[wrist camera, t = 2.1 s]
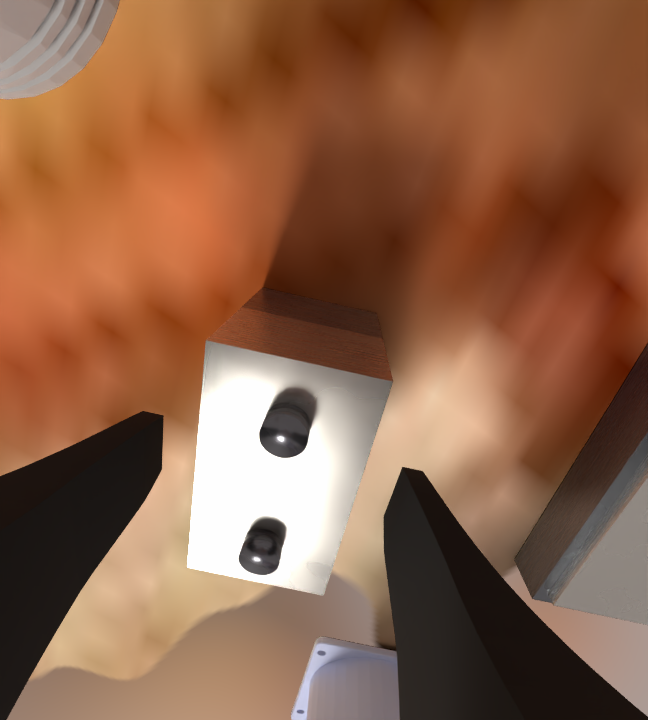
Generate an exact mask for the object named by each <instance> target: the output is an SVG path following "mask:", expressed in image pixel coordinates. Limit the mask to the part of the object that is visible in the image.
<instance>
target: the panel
mask: <svg viewBox="0 0 648 720" xmlns="http://www.w3.org/2000/svg"><path fill="white" fill-rule="evenodd" d="M515 562H516V565H517V567H518V569H519V571H520V573H521V575H522V577H523V580H524V582H525V584H526V586H527V588H528V591H529V593H530V595H531V597H532V599H535V600H541V601H545V602H550V603H552V604H553V605H554V606H559V607H564V608H569V609H573V610H578V611H583V612H588V613H592V614H597V615H602V616H607V617H612V618H616V619H621V620H626V621H630V622H635V623H640V624H645V625H648V345H647V346H646V348H645V349H644V351H643V353H642V354H641V356H640V357H639V359H638V361H637V362H636V364H635V366H634V367H633V369H632V370H631V372H630V374H629V375H628V377H627V378H626V380H625V382H624V383H623V385H622V387H621V388H620V390H619V391H618V393H617V395H616V396H615V398H614V399H613V401H612V403H611V404H610V406H609V408H608V409H607V411H606V412H605V414H604V416H603V417H602V419H601V421H600V422H599V424H598V425H597V427H596V429H595V430H594V432H593V433H592V435H591V437H590V438H589V440H588V442H587V443H586V445H585V446H584V448H583V450H582V451H581V453H580V454H579V456H578V458H577V459H576V461H575V463H574V464H573V466H572V467H571V469H570V471H569V472H568V474H567V475H566V477H565V479H564V480H563V482H562V484H561V485H560V487H559V488H558V490H557V492H556V493H555V495H554V497H553V498H552V500H551V501H550V503H549V505H548V506H547V508H546V509H545V511H544V513H543V514H542V516H541V518H540V519H539V521H538V522H537V524H536V526H535V527H534V529H533V530H532V532H531V534H530V535H529V537H528V539H527V540H526V542H525V543H524V545H523V547H522V548H521V550H520V551H519V553H518V555H517V556H516V558H515Z"/></svg>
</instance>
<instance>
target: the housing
mask: <svg viewBox="0 0 648 720" xmlns="http://www.w3.org/2000/svg"><path fill="white" fill-rule="evenodd" d="M392 383H393V380H392V375H391V371H390V367H389V363H388V359H387V355H386V350H385V346H384V342H383V338H382V334H381V330H380V326H379V321H378V317H377V313H374V312H369V311H365V310H361V309H356V308H352V307H347V306H343V305H338V304H334V303H329V302H325V301H321V300H316V299H312V298H307V297H303V296H298V295H294V294H289V293H285V292H281V291H276V290H272V289H267V288H262V289H260V290H259V291H258V292H257V293H256V294H255V295H254V296H253V297H252V298H251V299H250V300H249V301H248V302H247V303H245V304H244V305H243V306H242V307H241V308H240V309H239V310H238V311H237V312H236V313H235V314H234V315H233V316H231V317H230V318H229V319H228V320H227V321H226V322H225V323H224V324H223V325H222V326H221V327H220V328H219V329H218V330H216V331H215V332H214V333H213V334H212V335H211V336H210V337H209V338H208V339H207V340H206V346H205V358H204V371H203V383H202V395H201V407H200V419H199V431H198V443H197V455H196V468H195V480H194V492H193V504H192V516H191V528H190V540H189V552H188V565H187V567H188V568H193V569H198V570H203V571H207V572H212V573H217V574H222V575H227V576H232V577H236V578H241V579H246V580H251V581H256V582H260V583H265V584H270V585H275V586H280V587H285V588H289V589H294V590H299V591H304V592H309V593H314V594H318V595H324V592H325V589H326V586H327V583H328V580H329V577H330V574H331V571H332V568H333V565H334V562H335V558H336V555H337V552H338V549H339V546H340V543H341V540H342V537H343V534H344V531H345V528H346V525H347V522H348V518H349V515H350V512H351V509H352V506H353V503H354V500H355V497H356V494H357V491H358V488H359V485H360V482H361V478H362V475H363V472H364V469H365V466H366V463H367V460H368V457H369V454H370V451H371V448H372V445H373V442H374V438H375V435H376V432H377V429H378V426H379V423H380V420H381V417H382V414H383V411H384V408H385V405H386V402H387V398H388V395H389V392H390V389H391V386H392Z"/></svg>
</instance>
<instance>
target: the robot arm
mask: <svg viewBox="0 0 648 720" xmlns="http://www.w3.org/2000/svg"><path fill="white" fill-rule="evenodd" d="M162 446H163V415H159V414H154V413H149V412H145V411H142V412H140V413H138V414H136V415H133V416H131V417H129V418H127V419H125V420H123V421H121V422H119V423H117V424H115V425H113V426H111V427H109V428H107V429H105V430H103V431H101V432H99V433H97V434H95V435H93V436H91V437H89V438H87V439H85V440H83V441H81V442H79V443H76V444H74V445H72V446H70V447H68V448H66V449H63V450H61V451H59V452H57V453H54V454H52V455H50V456H48V457H45V458H43V459H41V460H39V461H36V462H34V463H32V464H29V465H27V466H25V467H22V468H20V469H17V470H15V471H12V472H10V473H7V474H5V475H2V476H0V720H6V719H7V718H8V716H9V714H10V712H11V710H12V708H13V707H14V705H15V703H16V701H17V699H18V698H19V696H20V694H21V692H22V690H23V689H24V687H25V685H26V683H27V681H28V679H29V678H30V676H31V674H32V672H33V671H34V669H35V667H36V666H37V664H38V662H39V660H40V659H41V657H42V655H43V653H44V652H45V650H46V648H47V646H48V645H49V643H50V641H51V639H52V638H53V636H54V634H55V633H56V631H57V629H58V628H59V626H60V624H61V623H62V621H63V619H64V618H65V616H66V614H67V613H68V611H69V609H70V608H71V606H72V604H73V603H74V601H75V599H76V598H77V596H78V594H79V593H80V591H81V590H82V588H83V587H84V585H85V584H86V582H87V581H88V579H89V578H90V576H91V575H92V573H93V572H94V570H95V569H96V568H97V566H98V565H99V564H100V562H101V561H102V559H103V558H104V557H105V555H106V554H107V553H108V551H109V550H110V548H111V547H112V546H113V544H114V543H115V542H116V540H117V539H118V537H119V536H120V535H121V533H122V532H123V530H124V529H125V528H126V526H127V525H128V524H129V522H130V521H131V519H132V518H133V517H134V515H135V514H136V512H137V511H138V510H139V508H140V507H141V505H142V504H143V502H144V501H145V499H146V498H147V496H148V494H149V492H150V490H151V489H152V487H153V485H154V483H155V481H156V479H157V478H158V476H159V474H160V472H161V470H162ZM384 554H385V563H386V571H387V579H388V586H389V594H390V601H391V609H392V616H393V624H394V631H395V640H396V651H393V650H388V649H383V648H378V647H373V646H368V645H363V644H359V643H354V642H349V641H343V640H339V639H334V638H329V637H323V636H322V637H318V638H317V639H316V641H315V644H314V647H313V650H312V653H311V655H310V658H309V661H308V665H307V668H306V671H305V673H304V676H303V679H302V682H301V685H300V688H299V691H298V694H297V697H296V700H295V703H294V706H293V709H292V714H291V719H292V720H648V717H647V716H646V715H645V714H644V713H642V712H641V711H640V710H639V709H638V708H636V707H635V706H634V705H633V704H632V703H631V702H629V701H628V700H627V699H626V698H625V697H624V696H622V695H621V694H620V693H619V692H618V691H617V690H615V688H613V687H612V686H611V685H610V684H609V683H607V681H605V680H604V679H603V678H602V677H601V676H600V675H599V674H597V673H596V672H595V671H594V670H593V669H592V668H591V667H590V666H589V665H588V664H586V663H585V662H584V661H583V660H582V659H581V658H580V657H579V656H578V655H577V654H576V653H574V651H573V650H571V649H570V648H569V647H568V646H567V645H566V644H565V643H564V642H563V641H562V640H561V639H560V638H559V637H558V636H557V635H556V634H555V633H554V632H553V631H552V630H551V629H550V628H549V627H548V626H547V625H546V624H545V623H544V622H543V621H542V620H541V619H540V618H539V617H538V616H537V615H536V614H535V613H534V612H533V611H532V610H531V609H530V608H529V607H528V606H527V605H526V603H525V602H524V601H523V600H522V599H521V598H520V597H519V596H518V595H517V594H516V593H515V591H514V590H513V589H512V588H511V587H510V586H509V585H508V584H507V583H506V581H505V580H504V579H503V578H502V577H501V576H500V575H499V573H498V572H497V571H496V570H495V569H494V567H493V566H492V565H491V564H490V563H489V561H488V560H487V559H486V558H485V556H484V555H483V554H482V553H481V551H480V550H479V549H478V548H477V546H476V545H475V544H474V542H473V541H472V540H471V539H470V537H469V536H468V535H467V533H466V532H465V531H464V529H463V528H462V527H461V525H460V524H459V522H458V521H457V520H456V518H455V517H454V516H453V514H452V513H451V511H450V510H449V508H448V507H447V506H446V504H445V503H444V501H443V500H442V498H441V497H440V495H439V494H438V493H437V491H436V490H435V488H434V487H433V485H432V484H431V482H430V481H429V479H428V478H427V477H426V475H425V474H424V472H423V471H419V470H414V469H410V468H405V467H402V470H401V472H400V475H399V478H398V480H397V483H396V486H395V488H394V491H393V494H392V496H391V499H390V501H389V504H388V507H387V509H386V512H385V515H384Z"/></svg>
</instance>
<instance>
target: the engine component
mask: <svg viewBox="0 0 648 720" xmlns="http://www.w3.org/2000/svg"><path fill="white" fill-rule="evenodd" d="M118 4H119V0H0V99H16V98H25V97H35V96H38V95H40V94H43V93H45V92H47V91H50V90H52V89H55V88H57V87H60V86H62V85H63V84H64V83H65V82H67V81H68V80H69V79H71V78H72V77H73V76H74V75H76V74H77V73H78V72H80V71H81V70H82V69H83V68H84V67H85V66H86V64H87V63H88V62H89V60H90V59H91V58H92V56H93V55H94V54H95V52H96V51H97V50H98V49H99V47H100V46H101V45H102V43H103V41H104V39H105V36H106V34H107V32H108V30H109V28H110V25H111V23H112V21H113V19H114V16H115V14H116V12H117V9H118Z"/></svg>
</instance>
